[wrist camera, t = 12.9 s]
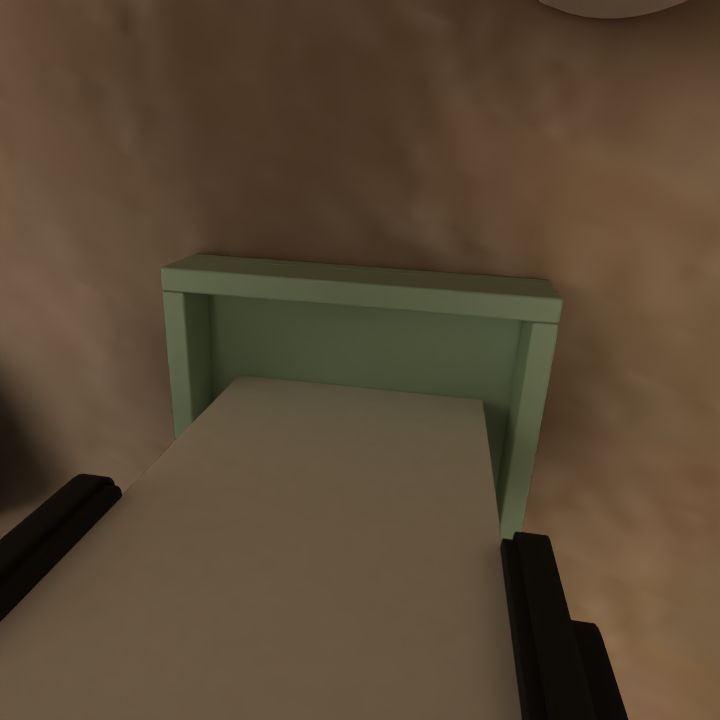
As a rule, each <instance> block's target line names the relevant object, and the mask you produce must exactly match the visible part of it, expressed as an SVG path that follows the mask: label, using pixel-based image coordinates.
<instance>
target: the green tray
mask: <svg viewBox="0 0 720 720" xmlns="http://www.w3.org/2000/svg"><path fill="white" fill-rule="evenodd" d="M160 271H161V282H162V289H163V290H165V291H163V293H162V296H163V307H164V319H165V330H166V342H167V353H168V365H169V376H170V388H171V399H172V411H173V422H174V434H175V441H176V440H177V439H178V437H179V436H180V435H181V434H182V433H183V432H184V431H185V430H186V429H187V428H188V427H189V426H190V425H191V424H192V423H193V422H194V421H195V420H196V419H197V418H198V417H199V416H200V415H201V414H202V413H203V412H204V411H205V410H206V409H207V408H208V407H209V406H210V405H211V404H212V403H213V402H214V401H215V399H216V398H217V397H218V396H219V395H220V394H221V393H222V392H223V391H224V390H225V389H226V388H227V387H228V386H229V385H230V384H231V383H232V382H233V381H234V380H235V379H236V378H237V377H238V376H239V375H244V376H254V377H263V378H273V379H283V380H293V381H302V382H312V383H322V384H331V385H341V386H351V387H360V388H370V389H380V390H390V391H399V392H409V393H419V394H428V395H438V396H448V397H457V398H467V399H477V400H482V401H483V407H484V414H485V422H486V429H487V436H488V443H489V451H490V458H491V465H492V473H493V480H494V487H495V494H496V502H497V509H498V516H499V524H500V531H501V538H502V539H503V538H505V539H513V535H514V533H515V532H516V531H517V532H522V526H523V521H524V515H525V510H526V504H527V499H528V494H529V488H530V483H531V477H532V472H533V466H534V461H535V455H536V450H537V444H538V439H539V433H540V428H541V422H542V417H543V411H544V406H545V400H546V395H547V389H548V384H549V378H550V373H551V367H552V362H553V356H554V351H555V345H556V340H557V335H558V329H559V325H558V323H559V321H560V317H561V312H562V306H563V299H562V298H561V296H560V295H559V294H558V293H557V291H556V290H555V289H554V288H553V286H552V284H551V283H550V282H549V281H548V280H542V279H528V278H515V277H501V276H488V275H474V274H461V273H447V272H434V271H420V270H407V269H393V268H380V267H366V266H353V265H339V264H326V263H312V262H299V261H285V260H272V259H258V258H245V257H231V256H218V255H204V254H195V255H192V256H190V257H187V258H185V259H183V260H180V261H178V262H175V263H172V264H170V265H167V266H165V267H162V268H161V270H160Z"/></svg>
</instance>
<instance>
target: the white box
mask: <svg viewBox="0 0 720 720" xmlns="http://www.w3.org/2000/svg"><path fill="white" fill-rule="evenodd" d="M501 541H502V538H501V531H500V524H499V516H498V509H497V502H496V494H495V487H494V480H493V473H492V465H491V458H490V451H489V443H488V436H487V429H486V422H485V414H484V407H483V401H482V400H477V399H467V398H457V397H448V396H438V395H428V394H419V393H409V392H399V391H390V390H380V389H370V388H360V387H351V386H341V385H331V384H322V383H312V382H302V381H293V380H283V379H273V378H263V377H254V376H244V375H239V376H238V377H237V378H236V379H235V380H234V381H233V382H232V383H231V384H230V385H229V386H228V387H227V388H226V389H225V390H224V391H223V392H222V393H221V394H220V395H219V396H218V397H217V398H216V399H215V401H214V402H213V403H212V404H211V405H210V406H209V407H208V408H207V409H206V410H205V411H204V412H203V413H202V414H201V415H200V416H199V417H198V418H197V419H196V420H195V421H194V422H193V423H192V424H191V425H190V426H189V427H188V428H187V429H186V430H185V431H184V432H183V433H182V434H181V435H180V436H179V437H178V439H177V440H176V441H175V442H174V443H173V444H172V445H171V446H170V447H169V448H168V449H167V450H166V451H165V452H164V453H163V454H162V455H161V456H160V457H159V458H158V459H157V460H156V461H155V462H154V463H153V464H152V465H151V466H150V467H149V468H148V469H147V470H146V471H145V472H144V473H143V474H142V475H141V476H140V478H139V479H138V480H137V481H136V482H135V483H134V484H133V485H132V486H131V487H130V488H129V489H128V490H127V491H126V492H125V493H124V494H123V495H122V497H121V498H120V499H119V500H118V501H117V502H116V504H115V505H114V506H113V507H112V508H111V509H110V510H109V511H108V512H107V513H106V514H105V515H104V516H103V517H102V518H101V519H100V520H99V521H98V522H97V523H96V524H95V525H94V526H93V527H92V528H91V529H90V530H89V531H88V532H87V533H86V534H85V535H84V536H83V538H82V539H81V540H80V541H79V542H78V543H77V544H76V545H75V546H74V547H73V548H72V549H71V550H70V551H69V552H68V553H67V554H66V555H65V556H64V557H63V558H62V559H61V560H60V561H59V562H58V563H57V564H56V565H55V566H54V567H53V568H52V569H51V570H50V572H49V573H48V574H47V575H46V576H45V577H44V578H43V579H42V580H41V581H40V582H39V583H38V584H37V585H36V586H35V587H34V588H33V589H32V590H31V591H30V592H29V593H28V594H27V595H26V596H25V597H24V598H23V599H22V600H21V601H20V602H19V603H18V605H17V606H16V607H15V608H14V609H13V610H12V611H11V612H10V613H9V614H8V615H7V616H6V617H5V618H4V619H3V620H2V621H1V622H0V720H522V716H521V709H520V701H519V693H518V685H517V677H516V669H515V661H514V654H513V646H512V638H511V630H510V622H509V614H508V606H507V599H506V591H505V583H504V575H503V567H502V559H501V552H500V546H501Z"/></svg>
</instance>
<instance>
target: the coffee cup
mask: <svg viewBox="0 0 720 720" xmlns="http://www.w3.org/2000/svg"><path fill="white" fill-rule="evenodd" d="M538 1H539V2H541V3H543V4H545V5H548V6H550V7H553V8H556V9H558V10H561V11H564V12H566V13H569V14H574V15H579V16H584V17H592V18H626V17H634V16H640V15H645V14H649V13H654V12H658V11H661V10H664V9H666V8H669V7H672V6H675V5H678V4H680V3H683V2H685V1H687V0H538Z"/></svg>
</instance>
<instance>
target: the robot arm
mask: <svg viewBox="0 0 720 720" xmlns="http://www.w3.org/2000/svg"><path fill="white" fill-rule="evenodd" d="M121 497H122V492H121V489H120V488H119V487H118V486H115V484H114V481H113V480H112V479H111V478H109V477H104V476H96V475H89V474H79V475H77V476H75V477H74V478H73V479H72V480H70V481H69V482H68V483H67V484H66V485H64V486H63V487H62V488H61V489H60V490H58V491H57V492H56V493H55V494H54V495H53V496H51V497H50V498H49V499H48V500H47V501H45V502H44V503H43V504H42V505H41V506H40V507H38V508H37V509H36V510H35V511H34V512H32V513H31V514H30V515H29V516H28V517H27V518H25V519H24V520H23V521H22V522H21V523H19V524H18V525H17V526H16V527H15V528H13V529H12V530H11V531H10V532H9V533H8V534H6V535H5V536H4V537H3V538H2V539H0V622H1V621H2V620H3V619H4V618H5V617H6V616H7V615H8V614H9V613H10V612H11V611H12V610H13V609H14V608H15V607H16V606H17V605H18V603H19V602H20V601H21V600H22V599H23V598H24V597H25V596H26V595H27V594H28V593H29V592H30V591H31V590H32V589H33V588H34V587H35V586H36V585H37V584H38V583H39V582H40V581H41V580H42V579H43V578H44V577H45V576H46V575H47V574H48V573H49V572H50V570H51V569H52V568H53V567H54V566H55V565H56V564H57V563H58V562H59V561H60V560H61V559H62V558H63V557H64V556H65V555H66V554H67V553H68V552H69V551H70V550H71V549H72V548H73V547H74V546H75V545H76V544H77V543H78V542H79V541H80V540H81V539H82V538H83V536H84V535H85V534H86V533H87V532H88V531H89V530H90V529H91V528H92V527H93V526H94V525H95V524H96V523H97V522H98V521H99V520H100V519H101V518H102V517H103V516H104V515H105V514H106V513H107V512H108V511H109V510H110V509H111V508H112V507H113V506H114V505H115V504H116V502H117V501H118V500H119V499H120V498H121ZM500 552H501V559H502V567H503V575H504V583H505V591H506V599H507V606H508V614H509V622H510V630H511V638H512V646H513V654H514V661H515V669H516V677H517V685H518V693H519V701H520V709H521V716H522V720H628V717H627V714H626V711H625V707H624V704H623V701H622V698H621V695H620V692H619V689H618V686H617V682H616V679H615V676H614V673H613V670H612V667H611V664H610V660H609V657H608V654H607V651H606V648H605V645H604V642H603V638H602V636H601V633H600V631H599V628H598V627H597V626H596V625H595V624H594V623H588V622H581V621H574V620H571V618H570V614H569V611H568V607H567V603H566V599H565V595H564V591H563V588H562V584H561V580H560V576H559V572H558V569H557V565H556V561H555V557H554V553H553V550H552V546H551V542H550V539H549V537H548V536H547V535H539V534H532V533H524V532H517V531H516V532H515V533H514V535H513V539H505V538H503V539H502V541H501V546H500Z"/></svg>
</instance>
